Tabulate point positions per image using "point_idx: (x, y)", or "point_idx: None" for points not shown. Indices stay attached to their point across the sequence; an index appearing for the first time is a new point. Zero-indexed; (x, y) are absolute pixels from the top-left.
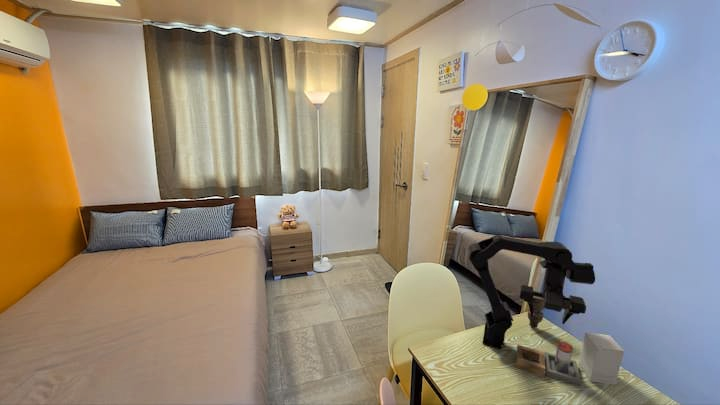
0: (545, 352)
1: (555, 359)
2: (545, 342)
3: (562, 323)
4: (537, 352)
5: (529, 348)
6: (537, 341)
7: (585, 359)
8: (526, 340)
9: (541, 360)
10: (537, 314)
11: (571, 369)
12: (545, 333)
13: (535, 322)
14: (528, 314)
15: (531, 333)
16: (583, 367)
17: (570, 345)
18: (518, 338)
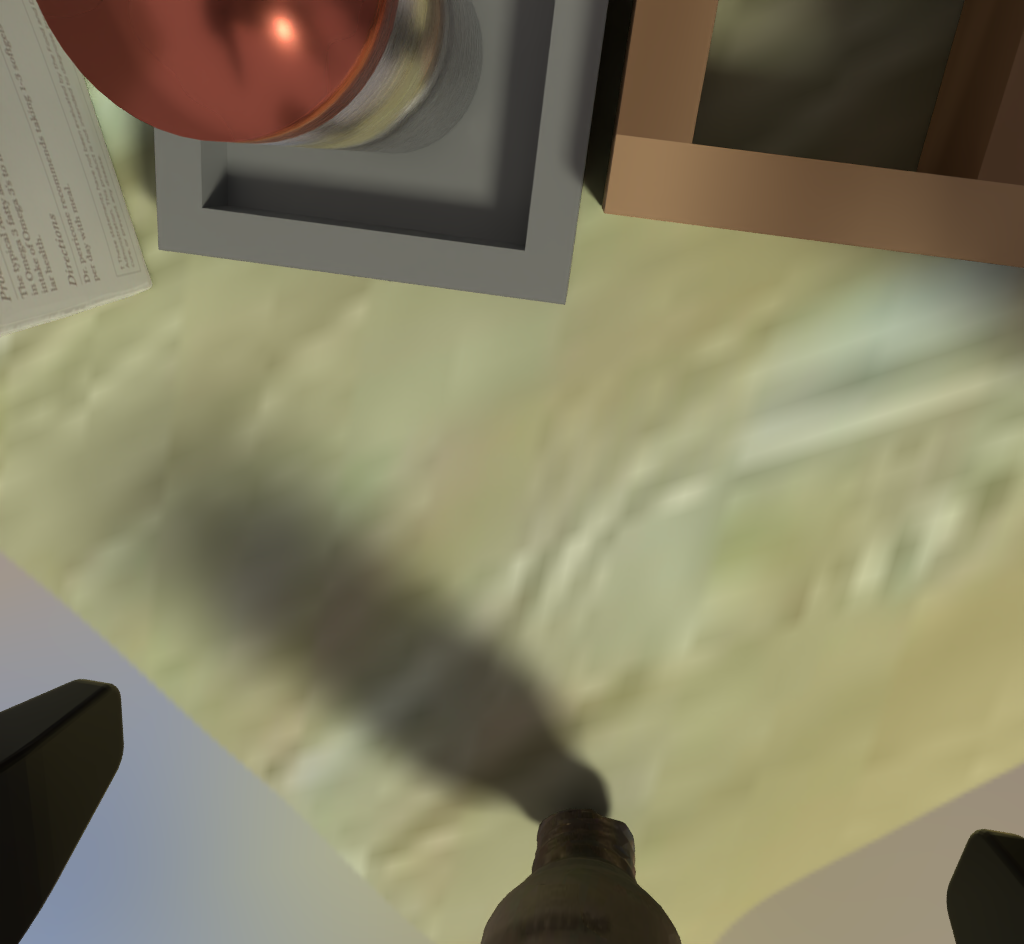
0: (554, 292)
1: (458, 2)
2: (487, 585)
3: (102, 698)
4: (717, 160)
5: (831, 229)
6: (586, 574)
7: None
8: (732, 551)
9: None
10: None
11: None
12: (454, 750)
13: (584, 866)
14: None
15: (629, 706)
16: (81, 159)
17: (63, 19)
18: (837, 560)
